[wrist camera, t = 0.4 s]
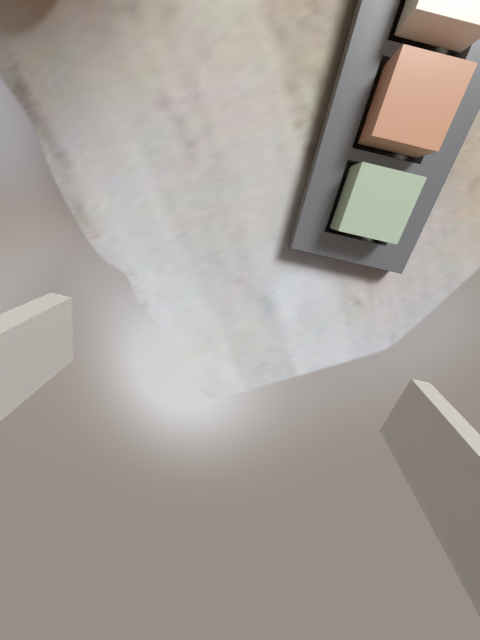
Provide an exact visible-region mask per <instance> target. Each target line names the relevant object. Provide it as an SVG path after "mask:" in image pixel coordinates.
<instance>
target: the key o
mask: <svg viewBox="0 0 480 640" xmlns="http://www.w3.org/2000/svg"><path fill="white" fill-rule="evenodd" d="M426 179H427V177H424V176H420V175H416V174H411V173H407V172H403V171H399V170H395V169H391V168H387V167H382V166H378V165H374V164H370V163H366V162H361V163H358V164H355V165H353V166H350V169H349V172H348V175H347V178H346V181H345V184H344V187H343V190H342V193H341V196H340V199H339V202H338V205H337V208H336V211H335V213H334V216H333V219H332V222H331V225H330V228H332V229H334V230H337V231H341V232H345V233H349V234H354V235H358V236H362V237H367V238H371V239H375V240H379V241H384V242H388V243H392V244H398V242H399V240H400V237H401V235H402V233H403V231H404V228H405V226H406V224H407V222H408V219H409V217H410V215H411V213H412V210H413V208H414V206H415V204H416V201H417V199H418V197H419V195H420V192H421V190H422V188H423V186H424V183H425V181H426Z"/></svg>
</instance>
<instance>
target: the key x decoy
mask: <svg viewBox="0 0 480 640" xmlns="http://www.w3.org/2000/svg"><path fill="white" fill-rule="evenodd" d="M477 64H478V63H476V62H472V61H469V60H465V59H461V58H457V57H453V56H449V55H445V54H441V53H437V52H433V51H429V50H425V49H422V48H418V47H414V46H410V45H406V44H403V45H402V46H401V47H400V48H399V49H398V51H397V52H396V53H395V54H394V55H393V56H392V57H391V58H390V59H389V60H388V61H387V63H386V64H385V65H384V67H383V70H382V73H381V76H380V79H379V82H378V85H377V88H376V91H375V94H374V97H373V100H372V103H371V106H370V109H369V112H368V115H367V118H366V121H365V124H364V127H363V130H362V133H361V136H360V139H359V142H358V144H362V145H366V146H370V147H374V148H378V149H382V150H386V151H390V152H394V153H399V154H403V155H407V156H411V157H415V158H418V157H421V156H425V155H429V154H432V153H436V152H439V149H440V147H441V145H442V143H443V140H444V138H445V136H446V134H447V131H448V129H449V127H450V125H451V122H452V120H453V118H454V116H455V113H456V111H457V109H458V107H459V104H460V102H461V100H462V98H463V95H464V93H465V91H466V89H467V86H468V84H469V82H470V80H471V77H472V75H473V73H474V71H475V68H476V66H477Z"/></svg>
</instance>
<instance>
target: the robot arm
mask: <svg viewBox="0 0 480 640" xmlns="http://www.w3.org/2000/svg"><path fill="white" fill-rule="evenodd" d="M72 360H73V325H72V298H71V297H68V296H64V295H59V294H55V293H49V294H46V295H44V296H42V297H40V298H37V299H35V300H32V301H30V302H28V303H25V304H23V305H21V306H18V307H16V308H13V309H11V310H9V311H6V312H4V313H2V314H0V421H1V420H2V419H4V418H5V417H6V416H7V415H8V414H10V413H11V412H12V411H13V410H14V409H15V408H17V407H18V406H19V405H20V404H21V403H23V402H24V401H25V400H26V399H27V398H28V397H30V396H31V395H32V394H33V393H34V392H36V391H37V390H38V389H39V388H40V387H41V386H43V385H44V384H45V383H46V382H47V381H49V380H50V379H51V378H52V377H53V376H55V375H56V374H57V373H58V372H59V371H61V370H62V369H63V368H64V367H65V366H66V365H68V363H70V362H71V361H72ZM380 432H381V434H382V435H383V437H384V439H385V441H386V443H387V445H388V447H389V448H390V450H391V452H392V454H393V456H394V458H395V460H396V461H397V463H398V465H399V467H400V469H401V471H402V473H403V474H404V476H405V478H406V480H407V482H408V484H409V486H410V487H411V489H412V491H413V493H414V495H415V497H416V499H417V501H418V502H419V504H420V506H421V508H422V510H423V512H424V513H425V515H426V517H427V519H428V521H429V523H430V525H431V527H432V528H433V530H434V532H435V534H436V536H437V538H438V540H439V541H440V543H441V545H442V547H443V549H444V551H445V552H446V554H447V556H448V558H449V560H450V562H451V563H452V565H453V567H454V569H455V571H456V573H457V575H458V577H459V579H460V580H461V582H462V584H463V586H464V588H465V590H466V592H467V593H468V595H469V597H470V599H471V601H472V603H473V604H474V606H475V608H476V610H477V612H478V614H479V616H480V435H479V434H478V433H477V432H476V431H475V429H474V428H473V427H472V426H471V425H470V424H469V423H468V422H467V421H466V420H465V419H464V418H463V417H462V416H461V415H460V414H459V413H458V412H457V411H456V410H455V409H454V408H453V407H452V406H451V404H450V403H449V402H448V401H447V400H446V399H445V398H444V397H443V396H442V395H441V394H440V393H439V392H438V391H437V390H436V389H435V388H434V387H433V386H432V385H431V384H430V383H427V382H423V381H419V380H414V379H411V380H410V382H409V383H408V385H407V387H406V388H405V390H404V392H403V393H402V395H401V397H400V398H399V400H398V401H397V403H396V405H395V406H394V408H393V410H392V411H391V413H390V415H389V416H388V418H387V420H386V421H385V423H384V425H383V426H382V428H381V429H380Z"/></svg>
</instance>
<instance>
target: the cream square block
mask: <svg viewBox="0 0 480 640" xmlns="http://www.w3.org/2000/svg"><path fill="white" fill-rule="evenodd" d="M394 36H398V37H402V38H406V39H409V40H413V41H417V42H421V43H425V44H429V45H433V46H437V47H441V48H445V49H449V50H452V51H456V52H460V53H461V52H462V51H464V50H465V49H466V48H468V47H469V46H470V45H472V44H473V43H474V42H476V41H477V40H478V39H480V0H406V1H405V4H404V7H403V10H402V13H401V16H400V19H399V22H398V25H397V28H396V31H395V34H394Z"/></svg>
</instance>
